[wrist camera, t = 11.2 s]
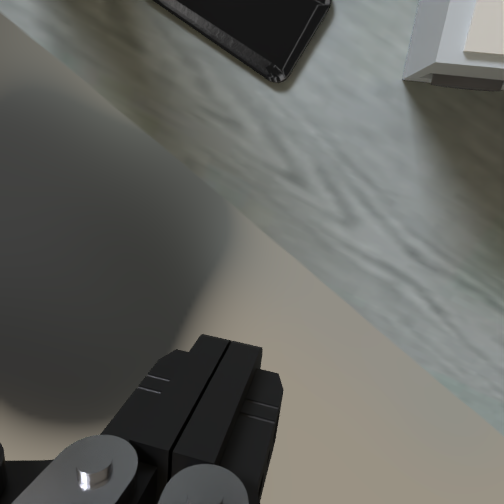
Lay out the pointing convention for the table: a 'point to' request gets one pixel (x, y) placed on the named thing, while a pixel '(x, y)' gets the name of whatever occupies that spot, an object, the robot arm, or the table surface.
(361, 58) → the table surface
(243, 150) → the table surface
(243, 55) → the phone
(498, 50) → the console
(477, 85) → the button
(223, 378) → the robot arm
